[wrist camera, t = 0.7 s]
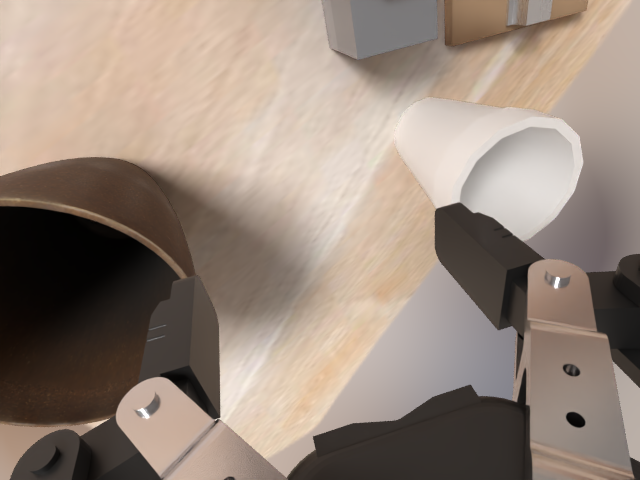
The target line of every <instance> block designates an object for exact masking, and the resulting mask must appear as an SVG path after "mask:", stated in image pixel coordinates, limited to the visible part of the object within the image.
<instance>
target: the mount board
mask: <svg viewBox="0 0 640 480" xmlns="http://www.w3.org/2000/svg"><path fill="white" fill-rule="evenodd" d="M587 4H588V0H552V8H551V16H550V20H553V19H557V18H560V17H564V16H568V15H572V14H575V13H579V12H583V11H586V9H587ZM506 7H507V0H445V45H448V46H456V45H460V44H464V43H467V42H471V41H475V40H478V39H482V38H486V37H490V36H493V35H497V34H501V33H505V32H508V31H512V30H516V29H519V28H523V27H527V26H531V25H534V24H531V25H527V26H523V25H509V26H505V21H506ZM546 21H549V20H546ZM542 22H545V21H542ZM542 22H539V23H542ZM535 24H538V23H535Z"/></svg>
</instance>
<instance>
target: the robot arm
mask: <svg viewBox="0 0 640 480" xmlns="http://www.w3.org/2000/svg"><path fill="white" fill-rule="evenodd" d="M435 250H436V254H437V256H438V259H439V260H440V262H441V263H442V265H443V266H444V267H445V268H446V269H447V270H448V272H449V273H450V274H451V275H452V276H453V278H454V279H455V280H456V281H457V282H458V283H459V285H460V286H461V287H462V288H463V289H464V290H465V292H466V293H467V294H468V295H469V296H470V298H471V299H472V300H473V301H474V302H475V303H476V305H477V306H478V307H479V308H480V309H481V311H482V312H483V313H484V314H485V315H486V317H487V318H488V319H489V320H490V321H491V322H492V324H493V325H494V326H495V327H496V328H497V329H498V330H501V329H504V328H507V327H510V326H513V327H514V328H515V329H516V331H517V333H516V341H515V363H514V387H513V397H512V401H511V400H508V399H504V398H497V397H488V396H478V395H477V394H476V392H475V391H474V389H473V388H472V386H471V385H468V386H465V387H462V388H459V389H456V390H453V391H450V392H446V393H443V394H440V395H437V396H435V397H432V398H431V399H429V400H428V401H426V402H425V403H423V404H422V405H420V406H419V407H417V408H416V409H414V410H413V411H411V412H410V413H408V414H407V415H405V416H404V417H402V418H401V419H399V420H396V421H384V422H368V423H353V424H350V425H347V426H344V427H341V428H338V429H335V430H332V431H329V432H326V433H323V434H319V435H317V436H313V440H314V443H315V448H316V450H314V451H313V452H311V453H310V454H308V455H307V456H306V457H305V458H304V459H303V460H302V461H300V462H299V463H298V464H297V466H296V467H295V468H294V469H293V470H292V471H291V473H290V474H289V475H288V477H287V478H286V477H285V476H283V475H282V474H281V473H280V472H279V471H278V470H277V469H276V468H274V467H273V466H272V465H271V464H270V463H269V462H268V461H267V460H266V459H264V458H263V457H262V456H261V455H260V454H259V453H258V452H257V451H255V450H254V449H253V448H252V447H251V446H250V445H249V444H248V443H246V442H245V441H244V440H243V439H242V438H241V437H240V436H239V435H237V434H236V433H235V432H234V431H233V430H232V429H231V428H230V427H228V426H227V425H226V424H225V423H224V422H222V421H221V420H219V419H217V418H220V366H219V324H218V319H217V315H216V312H215V309H214V307H213V305H212V302H211V300H210V298H209V296H208V294H207V292H206V290H205V287H204V285H203V283H202V281H201V279H200V277H199V276H198V275H195V276H191V277H187V278H184V279H180V280H177V281H174V282H173V283H172V289H171V296H170V299H168V300H165V301H161V302H160V303H159V304H158V306H157V307H156V309H155V310H154V312H153V313H152V315H151V319H150V324H149V331H148V334H147V339H146V340H147V343H146V344H145V349H144V355H143V360H142V365H141V370H140V375H139V380H138V384H137V385H136V386H135V387H133V388H132V389H131V390H130V391H129V392H128V393H127V394H126V395H125V396H124V398H123V399H122V400H121V402H120V404H119V406H118V409H117V412H116V415H115V416H113V417H112V418H110V419H109V420H107V421H106V422H104V423H102V424H100V425H99V426H97V427H95V428H94V429H92V430H90V431H89V432H87V433H85V434H84V435H82V436H79V435H78V434H77V433H75V432H74V431H72V430H68V429H64V430H58V431H55V432H52V433H50V434H48V435H46V436H44V437H43V438H41V439H40V440H38V441H37V442H36V443H35V444H33V445H32V446H31V447H30V448H29V449H28V450H27V451H26V452H25V454H24V455H23V456H22V457H21V458H20V460H19V461H18V463H17V465H16V466H15V468H14V471H13V473H12V475H11V478H10V480H640V462H639V461H637V460H635V459H633V458H631V457H630V456H629V451H628V445H627V440H626V434H625V429H624V423H623V418H622V412H621V407H620V401H619V396H618V390H617V385H616V379H615V374H614V368H613V363H612V361H613V362H615V364H617V366H618V367H620V369H622V370H623V372H624V373H625V374H627V376H629V377H630V378H631V380H632V381H633V382H634V383H635V384H636V385H637V386H638V387H639V388H640V254H634V255H629V256H626V257H624V258H622V259H621V260H620V262H619V264H618V267H617V270H616V271H609V272H590V273H585V272H584V271H583V270H582V269H581V268H579V267H578V266H576V265H574V264H572V263H569V262H566V261H563V260H556V259H544V258H543V257H541V256H540V255H539V254H537V253H536V252H535V251H534V250H532V249H531V248H530V247H529V246H528V245H526V244H525V243H524V242H523V241H521V240H520V239H519V238H518V237H516V236H515V235H514V236H513V233H511V232H510V231H509V230H508V229H506V228H504V226H503V225H501V224H500V223H499V222H498V221H496V220H495V219H494V218H492V217H489V216H487V215H484V214H482V213H479V212H477V213H473V212H471V211H470V210H469V209H468V208H467V207H466V206H464V205H463V204H462V203H460V202H457V203H454V204H450V205H447V206H443V207H440V208H437V209H436V211H435ZM214 419H217V420H216V421H215V420H214Z"/></svg>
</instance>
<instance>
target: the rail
mask: <svg viewBox="0 0 640 480" xmlns="http://www.w3.org/2000/svg"><path fill="white" fill-rule="evenodd" d="M551 8H552V0H507V7H506V21H505V26H509V25H523V26H527V25H531V24H535V23H539V22H542V21H546V20H550V16H551Z"/></svg>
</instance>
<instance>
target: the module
mask: <svg viewBox="0 0 640 480" xmlns="http://www.w3.org/2000/svg"><path fill="white" fill-rule="evenodd" d="M322 5H323V11H324V17H325V23H326V29H327V35H328V41H329V47H330V48H331V49H334V50H336V51H338V52H341V53H343V54H345V55H348V56H350V57H352V58H355V59H357V60H359V59H363V58H367V57H370V56H374V55H378V54H382V53H385V52H389V51H393V50H397V49H400V48H404V47H408V46H412V45H416V44H419V43H423V42H427V41H431V40H434V39H438V29H437V0H322Z"/></svg>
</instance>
